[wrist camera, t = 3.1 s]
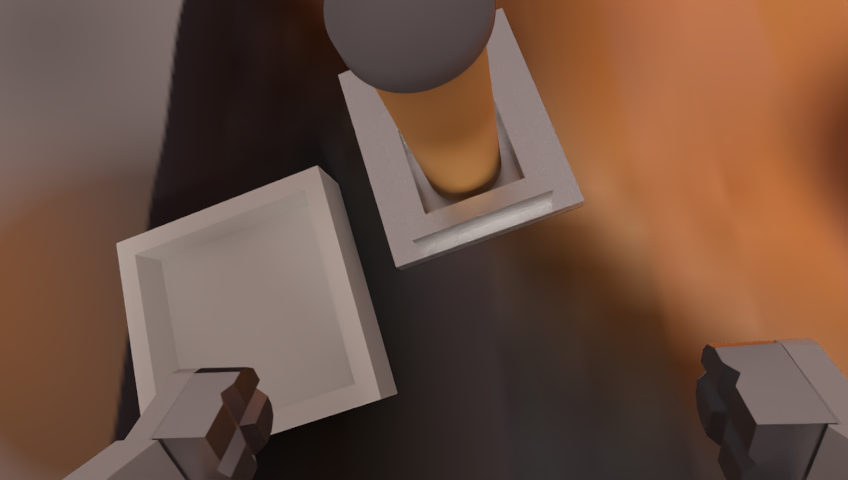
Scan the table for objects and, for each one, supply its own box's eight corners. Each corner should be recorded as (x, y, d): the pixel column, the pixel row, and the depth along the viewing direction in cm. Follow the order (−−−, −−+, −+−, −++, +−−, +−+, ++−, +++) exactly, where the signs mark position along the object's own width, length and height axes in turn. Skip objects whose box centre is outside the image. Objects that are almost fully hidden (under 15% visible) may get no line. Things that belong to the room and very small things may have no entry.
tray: (397, 393, 25) (381, 399, 22) (189, 460, 27) (149, 474, 24) (338, 184, 28) (317, 165, 25) (155, 253, 30) (116, 243, 27)
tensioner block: (582, 206, 25) (590, 185, 22) (400, 270, 27) (383, 259, 23) (502, 19, 29) (500, -23, 25) (344, 83, 30) (322, 52, 27)
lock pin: (522, 190, 25) (519, 32, 13) (434, 222, 26) (348, 101, 13) (491, 109, 26) (460, -105, 14) (407, 142, 27) (306, -37, 15)
